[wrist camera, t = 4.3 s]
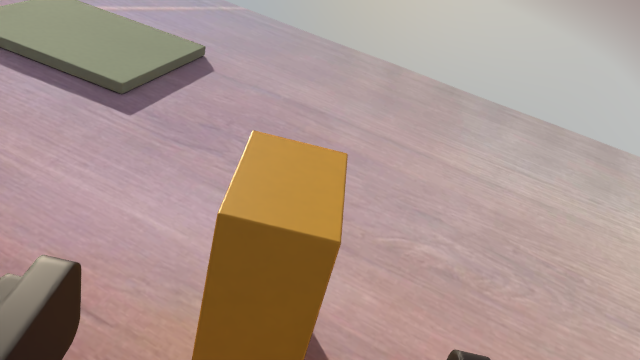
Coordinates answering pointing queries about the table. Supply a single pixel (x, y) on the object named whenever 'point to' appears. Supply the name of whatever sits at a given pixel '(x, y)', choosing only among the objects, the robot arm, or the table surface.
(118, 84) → the mat
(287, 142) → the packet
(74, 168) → the table surface
